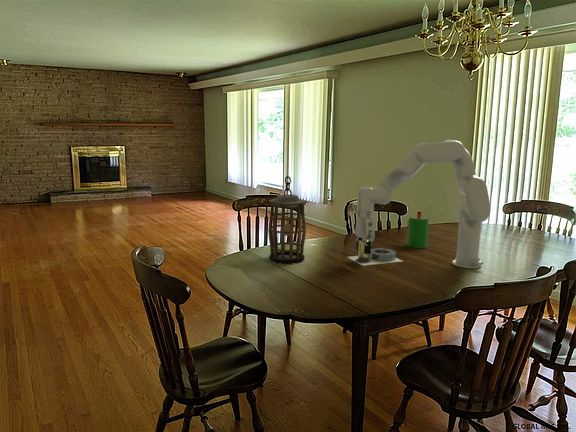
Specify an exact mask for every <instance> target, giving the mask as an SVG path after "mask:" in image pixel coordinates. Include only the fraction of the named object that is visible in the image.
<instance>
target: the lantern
mask: <svg viewBox="0 0 576 432" xmlns="http://www.w3.org/2000/svg"><path fill="white" fill-rule="evenodd" d="M287 179H288V180H289V181H287ZM284 183H285V188H284V191H283V194H278V195H277V196H276V198H272V199H270V200H269V201H268V202H266V203H267V204H268V205H270V213H269V214H270V216H269V221H268V230H267V232H268V240H269V246H270V247H269V251H270V255H269V260H270V262H272V261H273V262H272V263H275V262H276V263H275V264H278V263H282V264H281V265H293V264H292V263H296V264H300V263H303V262H302V261H304V260H305V255H304V250H305V241H306V235H307V231H306V230H307V224H306V219H305V218H306V216H305V206H306V204H307V203H308V201H306V200H304V199H302V198H301V199H300V198H299V195H295V194H292V193H293V192H292V190H291V183H292V179H291V177H290V176H289V175H287V176H285V178H284ZM286 192H289V194H286ZM279 208H281V212H279ZM294 208H296V212H294ZM279 216H281V217H279ZM294 216H296V217H294ZM278 221H280V224H278ZM295 221H297V225H296V224H295V223H294V222H295ZM278 228H280V230H278ZM294 228H297V230H295V229H294ZM278 234H280V242H278V241H279V240H278V238H279V237H278ZM294 234H297V235H296V236H297V237H296V238H297V239H296V242H294ZM287 236H288V237H289V242H288V241H287V242H286V237H287ZM279 245H280V248H279ZM286 245H289V249H286ZM294 246H295V247H296V249H294Z"/></svg>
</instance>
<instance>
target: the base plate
mask: <svg viewBox="0 0 576 432" xmlns="http://www.w3.org/2000/svg"><path fill="white" fill-rule="evenodd" d="M347 258H348V259H349V260H351V261H353V262H355V263H356V264H359V265H360V266H364V267H365V266H370V265H371V266H372V265H381V264H383V265H384V264H390V263H401V262H403V260H401V259H399V258H397V257H395V260H393V261H376V260H372V259H370V258H369V261H368V262H361V261H358V255H354V256H347Z"/></svg>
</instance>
